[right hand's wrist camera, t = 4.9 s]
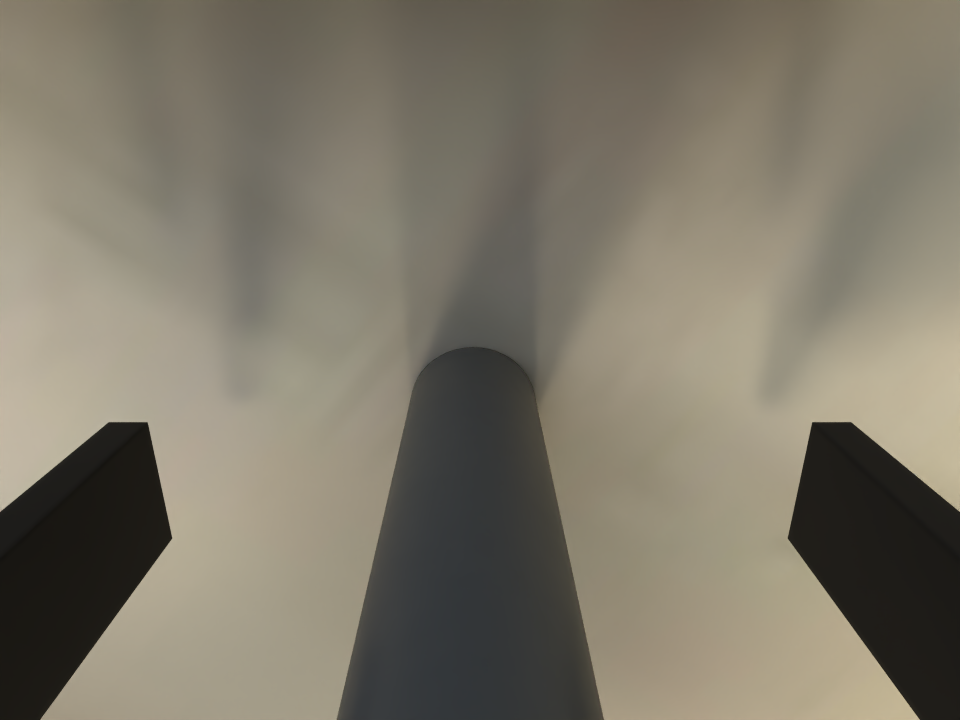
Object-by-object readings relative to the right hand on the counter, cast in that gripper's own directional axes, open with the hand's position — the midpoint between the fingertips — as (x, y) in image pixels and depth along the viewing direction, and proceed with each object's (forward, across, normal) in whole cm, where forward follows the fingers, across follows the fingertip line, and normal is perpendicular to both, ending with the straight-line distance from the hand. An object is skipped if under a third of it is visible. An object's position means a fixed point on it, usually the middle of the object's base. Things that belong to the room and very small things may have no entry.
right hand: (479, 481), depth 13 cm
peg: (+4, 0, 0) cm, 4 cm away
